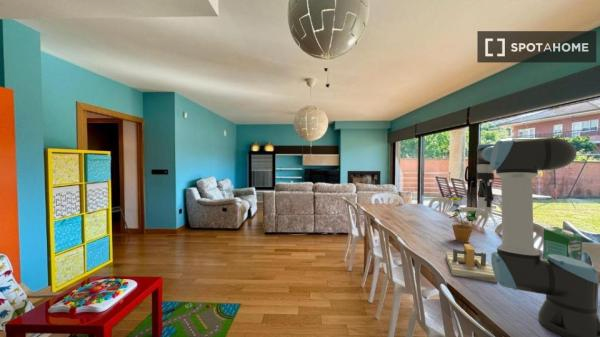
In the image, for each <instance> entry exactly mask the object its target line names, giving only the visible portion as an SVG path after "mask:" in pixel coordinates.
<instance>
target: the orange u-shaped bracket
mask: <svg viewBox="0 0 600 337" xmlns="http://www.w3.org/2000/svg"><path fill="white" fill-rule="evenodd" d="M463 250H465V251H466V252H467V255H466V254H463V255H464V262H466V263H465V267H469V268H475V265H474V252H475V249H474V247H473V246H472V244H469V243H463Z"/></svg>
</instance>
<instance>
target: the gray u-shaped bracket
mask: <svg viewBox="0 0 600 337" xmlns="http://www.w3.org/2000/svg"><path fill="white" fill-rule="evenodd" d="M452 253H453V261H456V262H457V254H463V255H464V254H466V255H467V252H466V251H465V250H464V249H458V248H453V249H452ZM474 256H479V257H481V265H484V266H486V261H487V253H486V252H481V251H474Z"/></svg>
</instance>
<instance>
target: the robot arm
mask: <svg viewBox="0 0 600 337" xmlns="http://www.w3.org/2000/svg"><path fill="white" fill-rule="evenodd" d="M476 152H477V155H476V156H477V162H476V163H477V164H476V172H477V173H476V179H477V180H479V182H478V192H477V196H478V209H481V210H484V214H492V202H493V200H494V197H493V188H492V183H493V182H492V181H494V179H495V174H496V176H497V177H499V178H500V181H501V183H500V184H501V237H502V238H501V244H499V245H498V246H497V248H496V251H494V252H492V253H491V257H490V261H491V268H492V269H493V272H494V275H495V278H496V280H497V282H496V283H498V285H500V286H502V287H503V288H508V289H512V290H515V291H523V292H528V293H536V294H542V295H545V300H544V301H543V303H542V306H541V307H540V309H539V310H538V322H539V323H540V324H541V325H542V326H543V327H544V328H545V329H547V330H549V331H551V332H552V333H555V334H557V335H558V336H561V337H600V317H599V315H598V301H599V284H600V281H599V273H598V270H597V268H595V267H594V266H592V265H590V264H589V263H587V262H584V261H582V260H581V261H579V260H576V259H573V258H569V257H566V256H561V255H556V254H549V255H547V257H546V258H547V259H543V258H541V254H540V252H539V251H538V250H536V248H535V247H534V246H535V245H534V244H535V243H534V242H535V241H534V240H535V239H534V211H533V210H534V208H533V206H534V204H533V202H534V201H533V198H534V197H533V179H534V178H536V177H537V176H538V174H539V173H538V172H539V171H553V170H558V169H563V168H564V167H567V166H568V165H570V164H572V162H574V160H576V157H577V149H576V147H575V146H574V145H573V144H572V143H571V142H570V141H568V140H566V139H563V138H558V137H552V136H551V137H546V136H545V137H511V138H502V139H501V138H500V139H499V140H497V141H495V143H482V144H478V145H477V150H476ZM494 172H495V173H494Z"/></svg>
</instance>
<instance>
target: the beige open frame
mask: <svg viewBox="0 0 600 337" xmlns="http://www.w3.org/2000/svg"><path fill="white" fill-rule="evenodd" d="M445 259H446V261H447V263H448V267H449V271H450V273H451V275H452V276H457V277H463V278H469V279H475V280H479V281H480V280H481V281H488V282H493V283H498V282H497V280H496V278H495V275H494V272H493V268H492V265H490V264H489V262H488V261H487V260H486V266H484V265H481V256H474V266H477V267H478V268H475V267H474V268H472V267H467V266H461V265H460V264H466V262H464V254H459V253H457V262H456V261H453V252H445Z"/></svg>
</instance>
